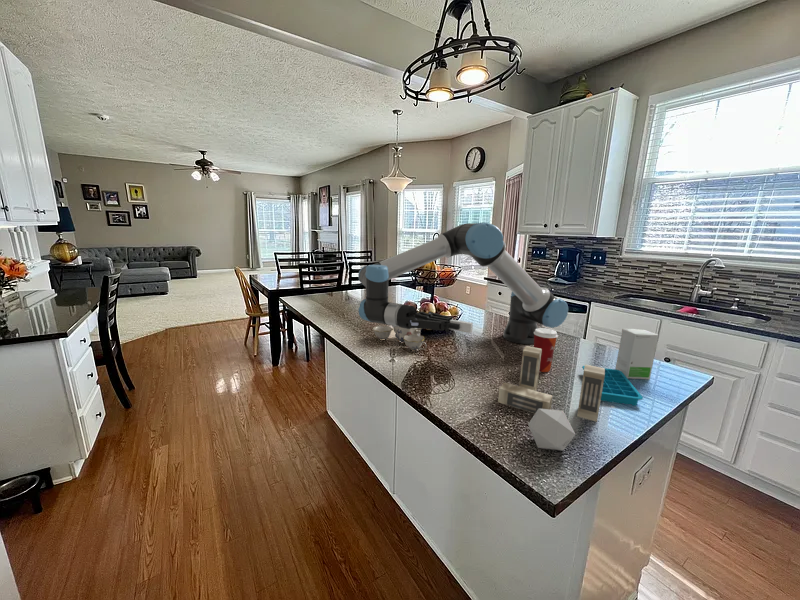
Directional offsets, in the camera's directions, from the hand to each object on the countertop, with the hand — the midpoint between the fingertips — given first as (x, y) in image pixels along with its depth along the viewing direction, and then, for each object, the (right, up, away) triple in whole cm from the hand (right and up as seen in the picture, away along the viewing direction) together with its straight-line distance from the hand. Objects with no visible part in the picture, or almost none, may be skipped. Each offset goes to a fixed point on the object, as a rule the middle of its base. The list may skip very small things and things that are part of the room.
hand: (471, 327), depth 94 cm
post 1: (+18, -19, +6) cm, 27 cm away
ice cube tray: (+44, -20, +8) cm, 49 cm away
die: (+13, -25, -20) cm, 35 cm away
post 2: (+8, -18, 0) cm, 20 cm away
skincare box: (+58, -18, +17) cm, 64 cm away
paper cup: (+29, -16, +21) cm, 39 cm away
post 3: (+29, -22, -8) cm, 37 cm away
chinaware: (-19, -10, +45) cm, 50 cm away
